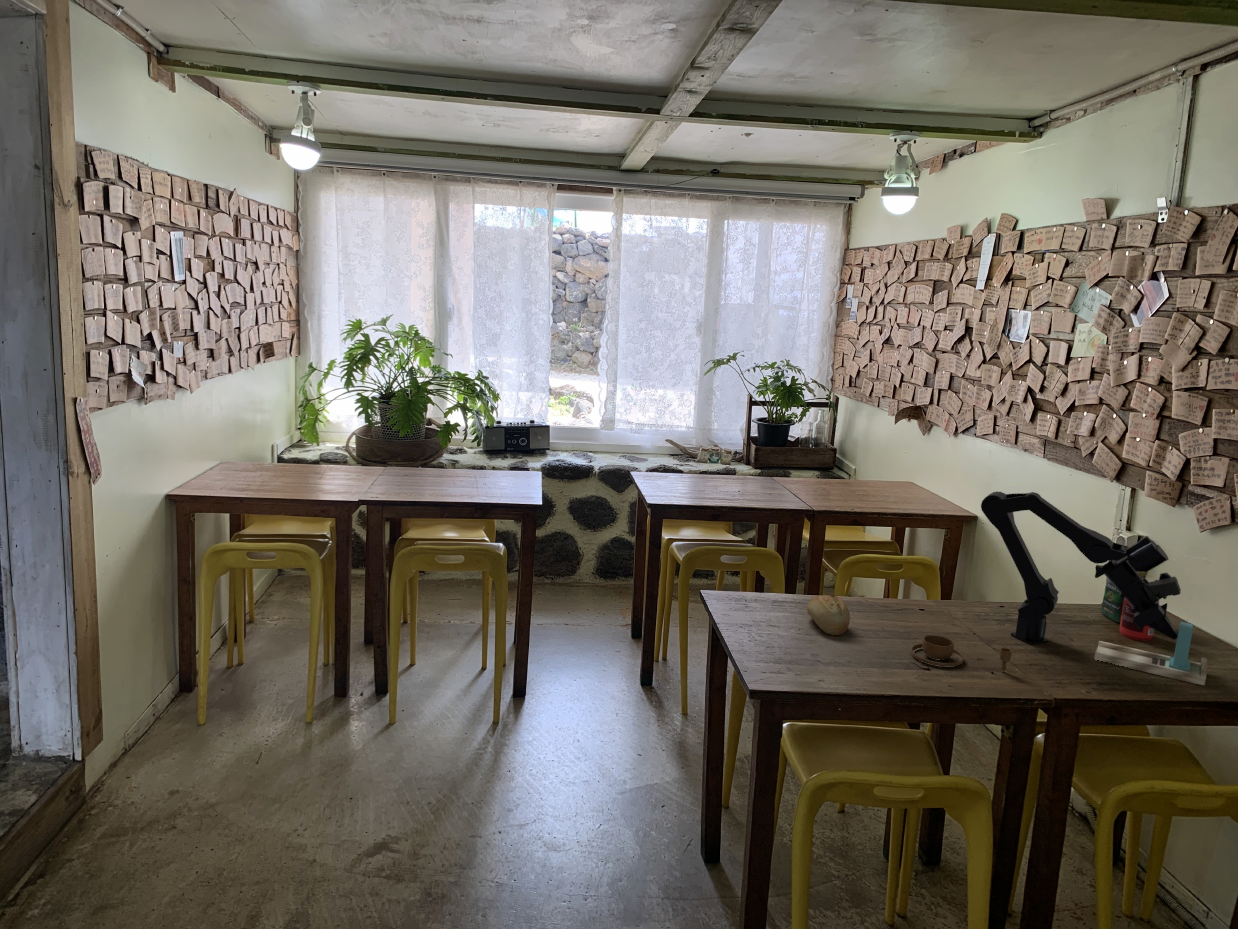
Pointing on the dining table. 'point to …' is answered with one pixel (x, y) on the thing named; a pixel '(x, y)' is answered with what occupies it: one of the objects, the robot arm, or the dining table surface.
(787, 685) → the dining table surface
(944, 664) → the place setting
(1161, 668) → the box
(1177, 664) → the slider
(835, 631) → the bread roll
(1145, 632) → the canned food
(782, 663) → the dining table surface
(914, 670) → the dining table surface
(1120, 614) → the coffee jar
